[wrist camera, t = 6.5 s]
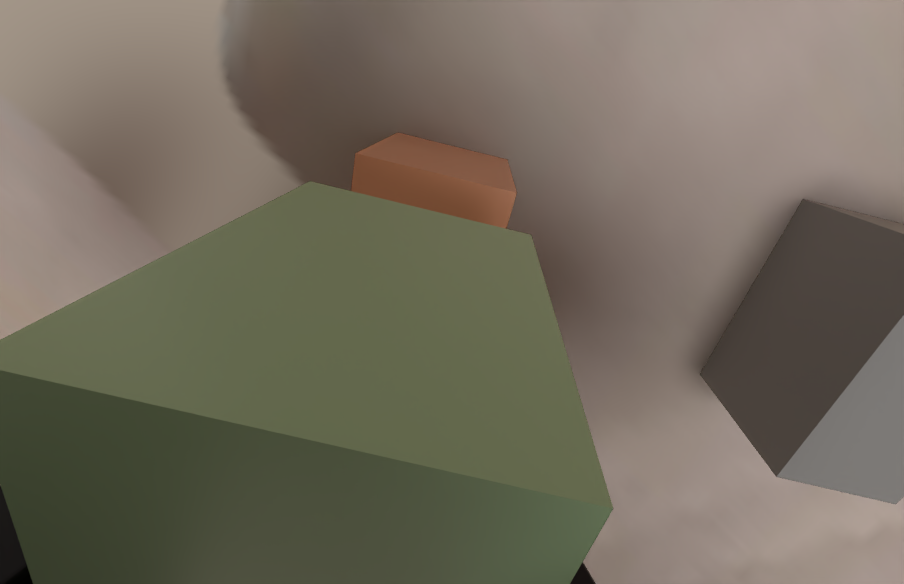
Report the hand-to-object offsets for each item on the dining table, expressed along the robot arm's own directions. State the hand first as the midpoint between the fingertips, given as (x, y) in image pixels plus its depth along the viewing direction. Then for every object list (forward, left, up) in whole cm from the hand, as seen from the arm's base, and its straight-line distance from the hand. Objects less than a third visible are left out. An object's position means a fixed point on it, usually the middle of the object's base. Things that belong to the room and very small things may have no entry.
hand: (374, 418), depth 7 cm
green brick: (0, 0, -1) cm, 1 cm away
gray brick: (+1, -13, -9) cm, 16 cm away
